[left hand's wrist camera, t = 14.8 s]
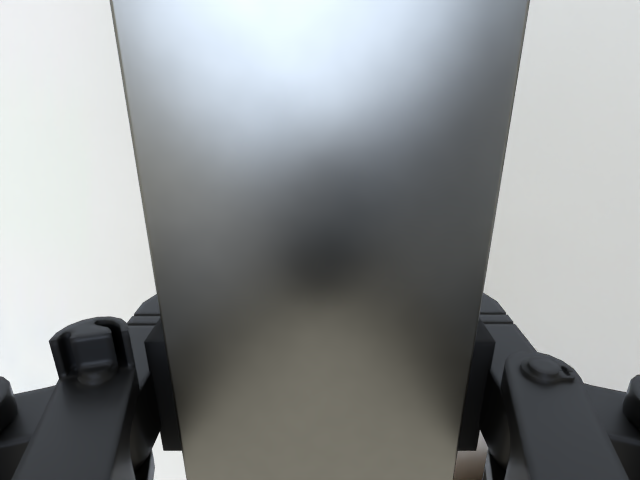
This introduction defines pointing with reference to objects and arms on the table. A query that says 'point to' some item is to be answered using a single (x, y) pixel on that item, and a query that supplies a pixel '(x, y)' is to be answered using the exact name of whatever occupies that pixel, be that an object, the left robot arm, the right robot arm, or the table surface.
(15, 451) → the left robot arm
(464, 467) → the table surface
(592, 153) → the table surface
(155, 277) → the bar
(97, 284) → the table surface
